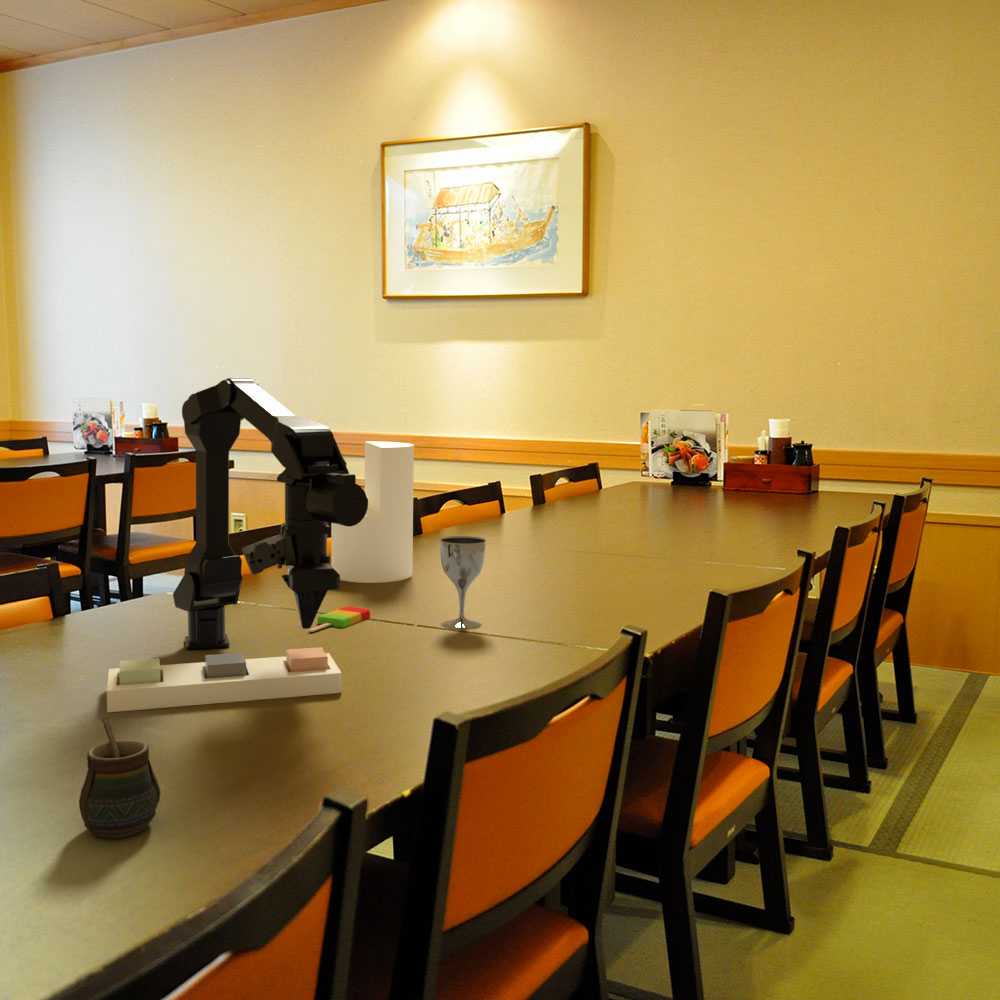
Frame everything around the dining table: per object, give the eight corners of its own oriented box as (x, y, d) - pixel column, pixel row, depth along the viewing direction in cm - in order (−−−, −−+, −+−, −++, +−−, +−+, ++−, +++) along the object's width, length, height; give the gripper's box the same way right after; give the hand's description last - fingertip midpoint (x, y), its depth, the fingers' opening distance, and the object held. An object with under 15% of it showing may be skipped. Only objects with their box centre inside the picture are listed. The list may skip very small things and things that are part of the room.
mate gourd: (103, 854, 93) (98, 748, 92) (64, 829, 98) (59, 728, 97) (174, 828, 99) (171, 728, 97) (134, 806, 104) (130, 710, 102)
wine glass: (462, 616, 185) (464, 534, 183) (493, 625, 179) (495, 540, 177) (429, 623, 179) (430, 539, 177) (459, 632, 174) (461, 545, 172)
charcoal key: (205, 672, 141) (205, 655, 141) (242, 670, 143) (242, 652, 143) (207, 683, 137) (207, 665, 136) (246, 680, 138) (246, 662, 138)
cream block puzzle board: (109, 688, 140) (109, 668, 140) (329, 671, 150) (329, 653, 149) (107, 712, 131) (106, 691, 130) (341, 692, 140) (341, 672, 140)
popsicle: (372, 619, 184) (372, 608, 183) (323, 638, 170) (323, 627, 170) (347, 615, 186) (347, 605, 186) (296, 633, 173) (296, 623, 172)
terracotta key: (286, 666, 145) (286, 649, 145) (321, 664, 147) (321, 647, 146) (291, 677, 140) (291, 659, 140) (327, 674, 142) (327, 656, 142)
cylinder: (402, 565, 231) (403, 441, 228) (420, 580, 215) (422, 447, 211) (325, 568, 226) (325, 441, 222) (338, 584, 209) (338, 447, 206)
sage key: (120, 679, 138) (120, 661, 137) (159, 676, 139) (159, 658, 139) (119, 690, 133) (119, 671, 133) (160, 687, 135) (160, 668, 134)
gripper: (239, 509, 147) (240, 615, 149) (253, 529, 129) (254, 650, 131) (317, 507, 151) (317, 611, 153) (340, 527, 133) (340, 644, 135)
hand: (306, 628), depth 143 cm, fingers closed
